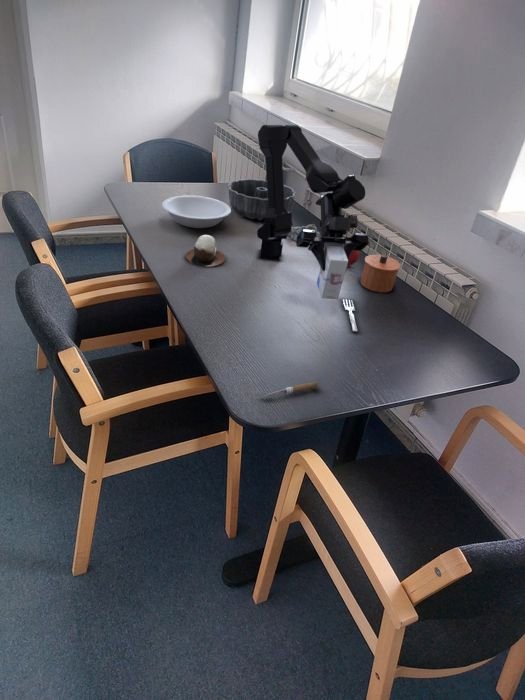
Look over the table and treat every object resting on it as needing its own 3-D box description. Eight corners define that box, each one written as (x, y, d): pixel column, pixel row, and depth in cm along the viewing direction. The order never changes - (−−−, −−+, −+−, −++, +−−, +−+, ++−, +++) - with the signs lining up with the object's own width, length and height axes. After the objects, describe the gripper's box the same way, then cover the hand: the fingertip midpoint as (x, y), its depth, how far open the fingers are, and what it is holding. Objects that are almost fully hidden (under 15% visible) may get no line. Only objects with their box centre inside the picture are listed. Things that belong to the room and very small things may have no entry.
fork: (360, 333, 125) (360, 331, 124) (349, 331, 125) (350, 330, 124) (352, 301, 139) (352, 299, 138) (342, 300, 139) (342, 298, 138)
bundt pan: (216, 202, 196) (218, 177, 190) (275, 202, 206) (278, 178, 200) (239, 227, 176) (242, 200, 171) (303, 224, 187) (307, 199, 181)
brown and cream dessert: (189, 243, 156) (211, 224, 151) (211, 268, 159) (233, 250, 154) (177, 256, 146) (201, 236, 141) (201, 282, 149) (224, 263, 144)
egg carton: (314, 234, 180) (316, 223, 177) (319, 242, 174) (322, 231, 171) (286, 233, 177) (288, 222, 175) (291, 241, 171) (293, 230, 169)
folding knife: (260, 403, 97) (261, 396, 96) (257, 398, 98) (258, 391, 97) (318, 391, 103) (319, 383, 102) (314, 386, 104) (316, 379, 103)
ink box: (315, 282, 136) (325, 243, 128) (332, 284, 136) (343, 245, 129) (320, 298, 129) (330, 258, 122) (338, 300, 130) (349, 261, 122)
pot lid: (367, 270, 142) (369, 261, 140) (361, 255, 151) (364, 246, 149) (403, 275, 142) (405, 265, 140) (395, 260, 151) (398, 251, 149)
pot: (362, 290, 146) (368, 268, 142) (358, 275, 154) (363, 254, 150) (395, 294, 146) (402, 272, 142) (389, 279, 154) (395, 258, 150)
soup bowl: (241, 232, 172) (243, 214, 168) (180, 240, 160) (181, 221, 156) (209, 210, 188) (210, 193, 184) (151, 215, 175) (150, 197, 171)
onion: (355, 270, 157) (361, 247, 152) (338, 267, 157) (343, 244, 153) (356, 263, 162) (362, 241, 157) (339, 260, 162) (344, 238, 158)
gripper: (306, 198, 120) (308, 258, 118) (376, 204, 124) (379, 262, 121) (295, 217, 131) (296, 273, 129) (359, 222, 135) (362, 276, 132)
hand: (333, 271), depth 127 cm, fingers closed on ink box, 5 cm apart
